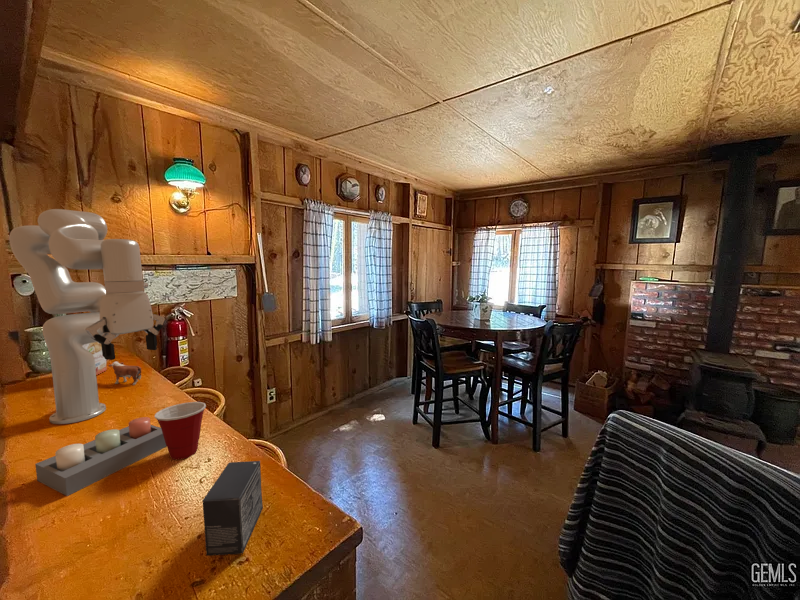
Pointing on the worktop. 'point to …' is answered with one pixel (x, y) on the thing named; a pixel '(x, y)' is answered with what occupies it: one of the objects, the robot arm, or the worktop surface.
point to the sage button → (107, 441)
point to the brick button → (139, 427)
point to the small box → (232, 508)
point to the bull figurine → (126, 372)
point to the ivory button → (69, 456)
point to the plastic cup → (181, 428)
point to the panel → (99, 461)
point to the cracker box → (97, 356)
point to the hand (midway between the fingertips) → (132, 354)
